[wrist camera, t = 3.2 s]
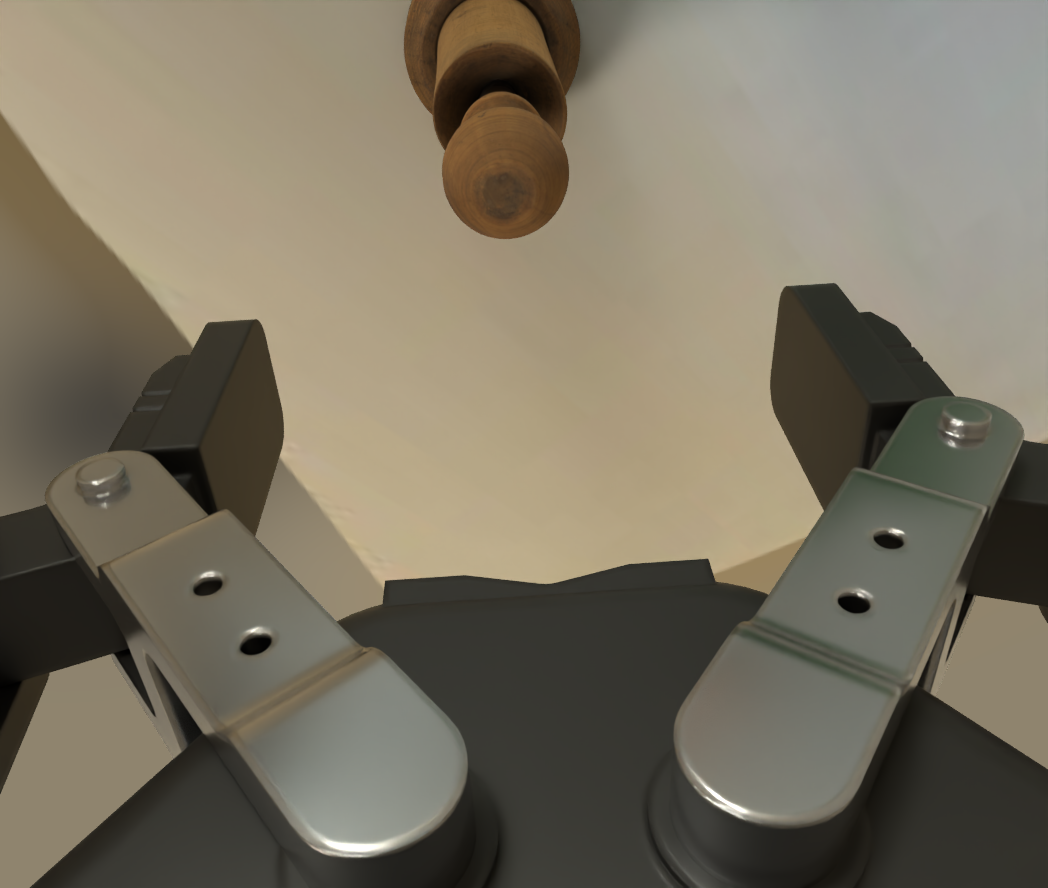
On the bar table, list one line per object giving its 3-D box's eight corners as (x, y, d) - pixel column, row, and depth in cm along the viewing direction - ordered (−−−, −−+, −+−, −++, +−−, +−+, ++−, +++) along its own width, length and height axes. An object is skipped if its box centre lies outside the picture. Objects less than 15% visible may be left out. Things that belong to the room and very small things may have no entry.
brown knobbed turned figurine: (527, 152, 38) (563, 364, 24) (380, 80, 37) (319, 261, 22) (605, -7, 35) (706, 122, 20) (449, -94, 33) (433, -23, 18)
